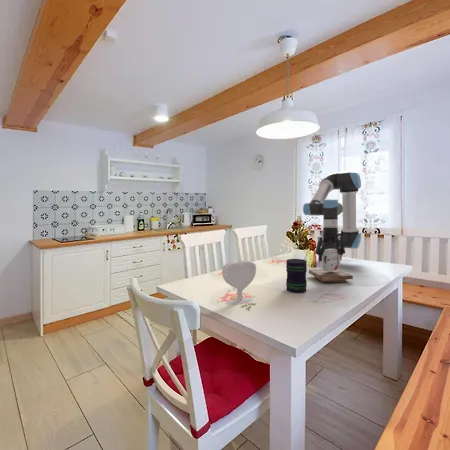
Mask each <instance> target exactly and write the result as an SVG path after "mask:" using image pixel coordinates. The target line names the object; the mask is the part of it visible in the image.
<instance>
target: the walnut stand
mask: <svg viewBox="0 0 450 450" xmlns="http://www.w3.org/2000/svg"><path fill="white" fill-rule="evenodd" d="M308 273H309V275H311V276H313V277H314V278H316V279H317V280H319V281H321V282H322V283H325V284H332V283H333V284H334V283H335V284H336V283H346V282H347V280H353V279H354V275H353V274H350V273H348V272H345V271H343V270H341V269H337V270H334V271H331V272H328V271H323V270H322V268H317V269H315V268H314V269H308Z"/></svg>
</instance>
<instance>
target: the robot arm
mask: <svg viewBox="0 0 450 450" xmlns="http://www.w3.org/2000/svg"><path fill="white" fill-rule="evenodd" d="M361 186H362V179H361V176H360V173H359V172H358V171H353V170H351V171H350V170H349V171H343V172H333V173H329V174H328V175H327V176H325V177H324V178H322V179H321V181H320V182H319V185H318V189H317V190H316V191H315V193H314V195H313V197H312V199H311V201H310V202H305V203H304V204H303V207H302V211H303V214H304V215H305V216H323V223H322V226H323V228H322V231H321V236H317V244H316V248H315V252H314V254H315V255H317V256H318V262H319V267H321V268H322V267H323V255H322V254H323V252H324V250H326V249H337V250H338V267H341V261H342V259H343V258H342V256H343V255H344V254H346V250H345V249H353V250H356V249H358V248H359V247H360V244H361V240H362V232H361V231H359V228H357V193H358V192H359V189H361ZM333 190H334V191H335V190H339V193H340V194H341V196H342V197H341V199H342V204H341V203H340V202H339V200H338V199H336V198H334V199H333V198H332V199H331V198H329V199H328V196H329V193H331V192H332V191H333ZM341 214H342V228H341V229H340V231H339V228H338V226H339V225H338V224H339V223H338V221H339V216H340V215H341Z"/></svg>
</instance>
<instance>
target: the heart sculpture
mask: <svg viewBox="0 0 450 450" xmlns="http://www.w3.org/2000/svg"><path fill="white" fill-rule="evenodd" d="M256 266H257V265H256V264H255V263H254V262H252V261H248V260H244V259H243V260H240V261H238V262H235V261H231V262H228V263H225V264H224V265H223V266H222V270H221V272H222V278H223V280H224V281H225V283H226V284H228V285H229V286H231V287H232V288H234V289H236V299H234V300H229V301H226V302H225V304H226V305H227V306H229V307H230V306H231V307H232V306H233V307H234V306H237V305H241V304H246V303H250V302H254V299H253V298H251V297H243V290H245V289H246V288H247V287H248V286H249V285H250V284H251V283H252V282H253V281H254V279H255V276H256V273H257V267H256Z"/></svg>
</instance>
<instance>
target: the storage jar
mask: <svg viewBox="0 0 450 450" xmlns="http://www.w3.org/2000/svg"><path fill="white" fill-rule="evenodd" d="M285 267H286V284H285V285H286V291H287V292H288V293H291V294H304V293H307V286H308V284H307V272H308V271H307V269H308V265H307V260H306V259H302V258H289V259H286V266H285Z"/></svg>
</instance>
